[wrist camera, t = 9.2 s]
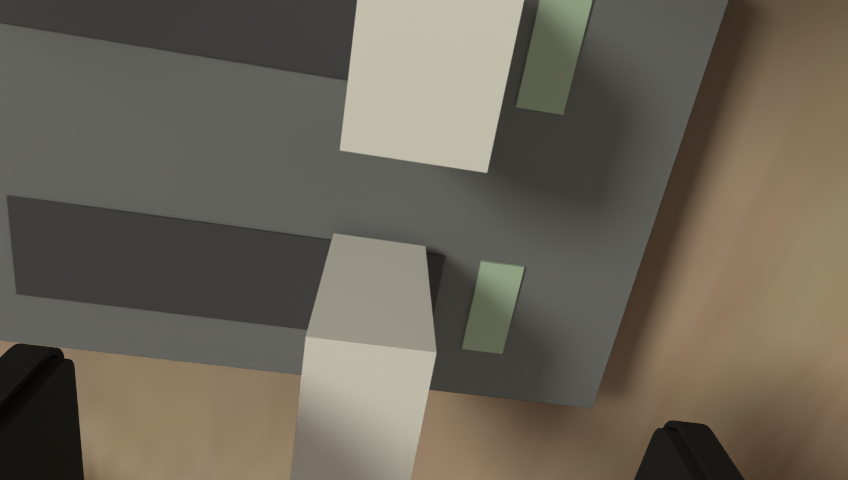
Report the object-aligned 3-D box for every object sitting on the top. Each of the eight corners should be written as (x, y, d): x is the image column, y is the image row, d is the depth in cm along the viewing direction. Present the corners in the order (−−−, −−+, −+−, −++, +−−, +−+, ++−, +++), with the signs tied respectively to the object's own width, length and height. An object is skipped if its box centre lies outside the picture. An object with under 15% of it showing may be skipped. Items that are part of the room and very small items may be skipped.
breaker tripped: (333, 233, 15) (305, 336, 11) (425, 246, 16) (436, 352, 11) (319, 348, 17) (289, 484, 12) (404, 358, 17) (407, 495, 12)
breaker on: (379, -66, 13) (368, -97, 8) (488, -45, 13) (538, -65, 8) (359, 98, 14) (340, 150, 9) (458, 114, 14) (486, 173, 10)
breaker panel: (-190, -222, 14) (-340, -276, 11) (688, -48, 16) (749, -57, 13) (-102, 270, 19) (-190, 320, 16) (566, 353, 21) (592, 410, 18)
